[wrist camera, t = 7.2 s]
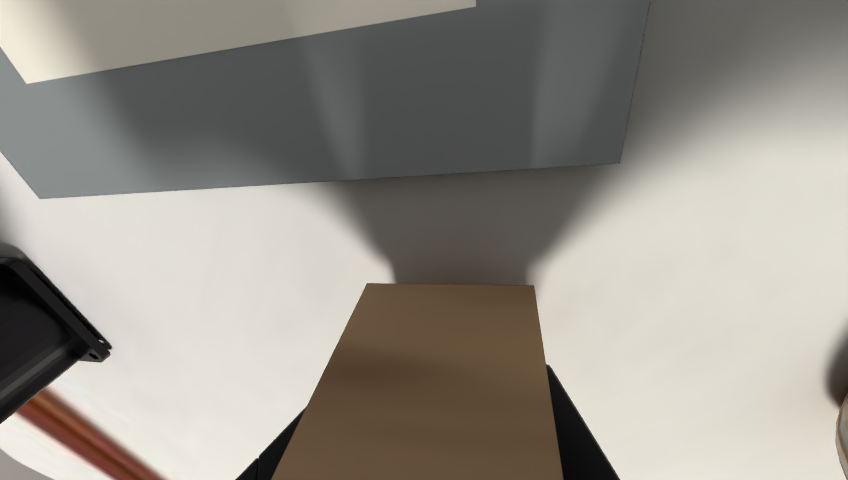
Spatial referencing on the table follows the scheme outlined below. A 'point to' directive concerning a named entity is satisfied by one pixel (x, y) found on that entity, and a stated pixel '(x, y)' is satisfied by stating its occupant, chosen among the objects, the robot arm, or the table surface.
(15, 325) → the robot arm
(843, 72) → the table surface
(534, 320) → the walnut block
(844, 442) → the vase
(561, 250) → the table surface
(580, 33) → the letter board
